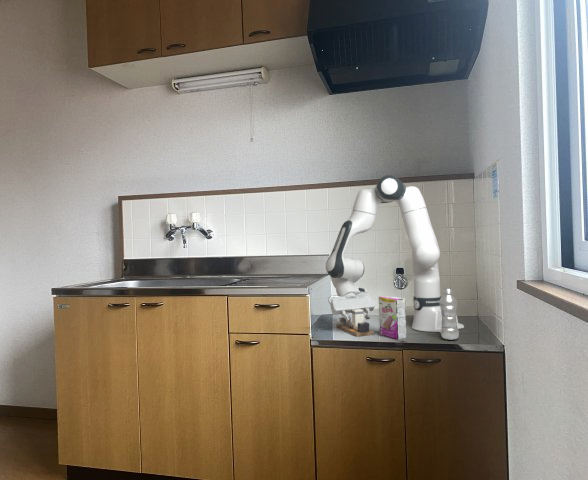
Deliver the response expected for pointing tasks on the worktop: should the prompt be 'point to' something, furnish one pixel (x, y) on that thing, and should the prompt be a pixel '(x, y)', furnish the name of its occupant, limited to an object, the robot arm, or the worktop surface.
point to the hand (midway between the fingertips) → (358, 319)
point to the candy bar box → (392, 317)
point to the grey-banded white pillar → (357, 317)
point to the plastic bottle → (448, 315)
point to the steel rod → (359, 326)
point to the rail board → (351, 329)
